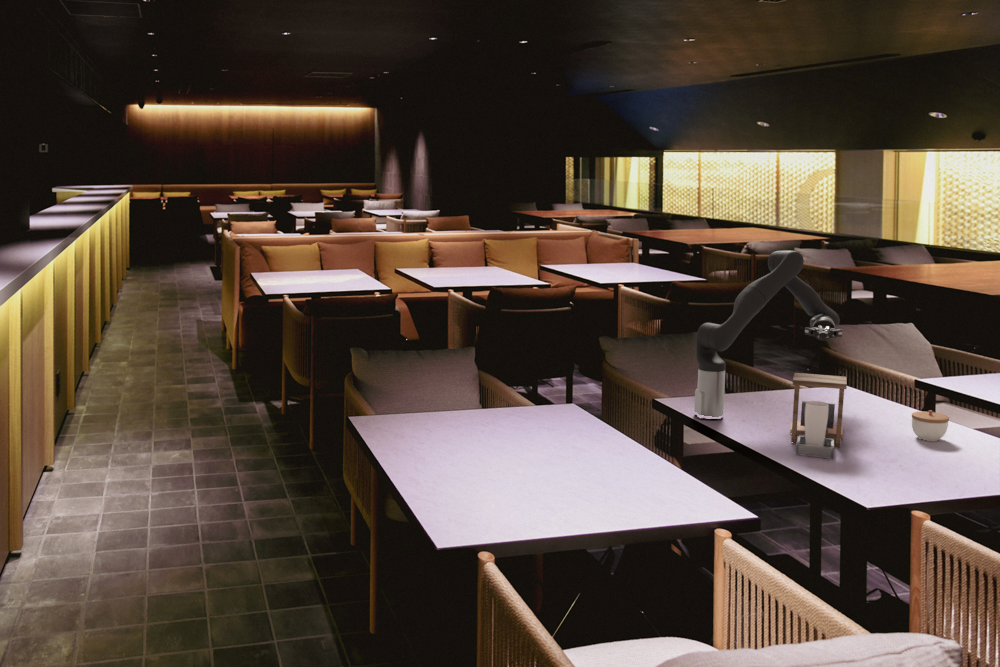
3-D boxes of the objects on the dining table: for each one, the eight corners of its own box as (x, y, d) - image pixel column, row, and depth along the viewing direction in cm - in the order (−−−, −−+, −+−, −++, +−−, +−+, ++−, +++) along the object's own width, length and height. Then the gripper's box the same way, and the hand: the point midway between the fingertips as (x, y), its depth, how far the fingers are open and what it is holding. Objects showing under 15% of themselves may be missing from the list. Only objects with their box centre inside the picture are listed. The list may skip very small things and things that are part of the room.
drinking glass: (824, 448, 266) (827, 401, 264) (826, 455, 260) (830, 406, 258) (801, 447, 268) (804, 400, 266) (803, 453, 262) (806, 405, 259)
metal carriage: (833, 458, 256) (835, 423, 254) (795, 454, 260) (797, 420, 258) (833, 435, 279) (835, 404, 278) (799, 432, 283) (801, 400, 281)
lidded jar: (912, 441, 274) (915, 413, 273) (907, 432, 285) (910, 405, 283) (949, 444, 271) (952, 416, 270) (943, 435, 282) (946, 407, 280)
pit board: (842, 439, 277) (842, 434, 277) (790, 433, 283) (790, 429, 282) (842, 429, 288) (842, 425, 288) (791, 424, 294) (792, 420, 293)
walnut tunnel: (842, 449, 266) (846, 384, 263) (788, 443, 272) (792, 379, 268) (841, 439, 277) (846, 376, 273) (790, 434, 282) (794, 372, 279)
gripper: (805, 316, 312) (803, 323, 296) (844, 319, 307) (844, 326, 291) (803, 337, 313) (802, 345, 297) (842, 339, 308) (843, 347, 292)
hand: (823, 335), depth 294 cm, fingers closed
